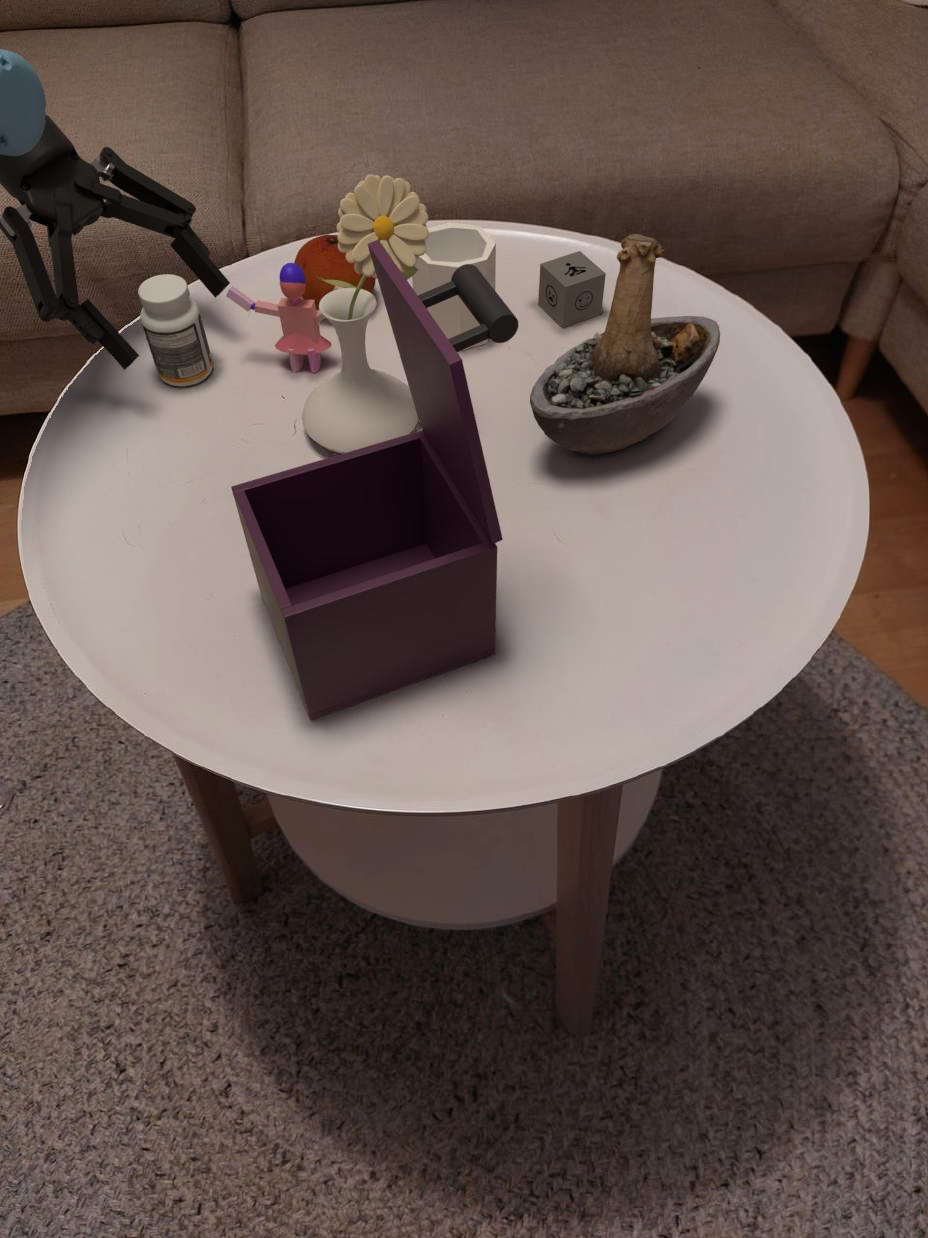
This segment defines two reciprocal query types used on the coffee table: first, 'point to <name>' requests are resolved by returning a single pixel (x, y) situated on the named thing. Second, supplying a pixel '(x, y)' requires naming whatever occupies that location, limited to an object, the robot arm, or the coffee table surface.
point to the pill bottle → (174, 330)
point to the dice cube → (571, 289)
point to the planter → (625, 366)
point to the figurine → (292, 318)
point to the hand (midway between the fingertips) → (179, 325)
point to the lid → (446, 370)
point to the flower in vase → (360, 396)
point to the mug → (439, 263)
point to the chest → (370, 571)
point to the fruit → (327, 268)
